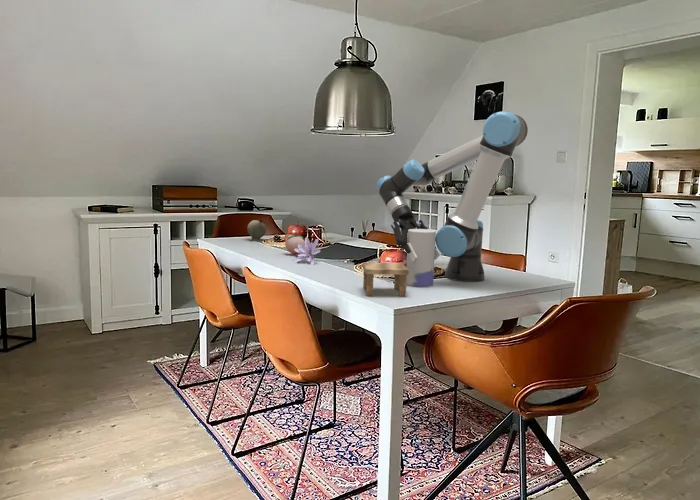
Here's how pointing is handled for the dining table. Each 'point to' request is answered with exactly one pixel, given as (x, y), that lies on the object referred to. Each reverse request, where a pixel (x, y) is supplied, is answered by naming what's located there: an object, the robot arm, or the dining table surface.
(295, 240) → the decorative fruit
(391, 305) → the dining table surface
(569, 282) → the dining table surface
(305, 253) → the water lily
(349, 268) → the dining table surface
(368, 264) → the stool
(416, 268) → the container
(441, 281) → the dining table surface
